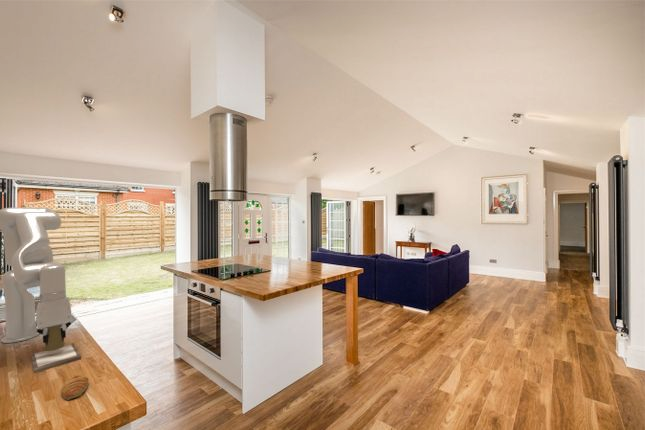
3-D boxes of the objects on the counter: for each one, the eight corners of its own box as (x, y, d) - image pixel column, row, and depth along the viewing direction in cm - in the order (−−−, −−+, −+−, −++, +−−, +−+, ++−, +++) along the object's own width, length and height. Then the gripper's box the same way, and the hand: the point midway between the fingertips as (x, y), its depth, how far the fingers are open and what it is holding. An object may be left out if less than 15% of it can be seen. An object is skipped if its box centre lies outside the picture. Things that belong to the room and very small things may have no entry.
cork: (52, 351, 113) (51, 323, 113) (39, 350, 115) (38, 322, 115) (68, 344, 119) (67, 317, 119) (56, 343, 121) (55, 316, 120)
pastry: (88, 395, 91) (87, 383, 91) (58, 405, 87) (58, 392, 87) (88, 382, 99) (88, 371, 99) (61, 390, 95) (61, 378, 94)
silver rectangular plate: (31, 356, 117) (30, 353, 117) (73, 345, 127) (73, 342, 127) (34, 372, 105) (34, 369, 105) (81, 358, 114) (81, 355, 114)
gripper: (24, 303, 108) (26, 353, 108) (82, 293, 121) (83, 337, 121) (22, 299, 113) (23, 347, 113) (77, 290, 126) (79, 332, 126)
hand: (54, 341), depth 117 cm, fingers closed on cork, 3 cm apart
